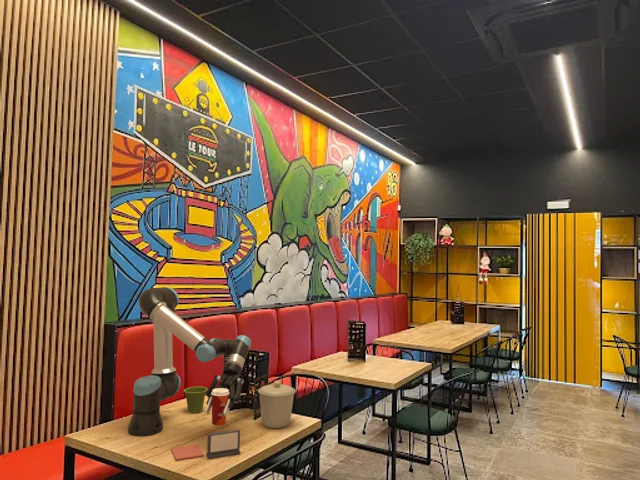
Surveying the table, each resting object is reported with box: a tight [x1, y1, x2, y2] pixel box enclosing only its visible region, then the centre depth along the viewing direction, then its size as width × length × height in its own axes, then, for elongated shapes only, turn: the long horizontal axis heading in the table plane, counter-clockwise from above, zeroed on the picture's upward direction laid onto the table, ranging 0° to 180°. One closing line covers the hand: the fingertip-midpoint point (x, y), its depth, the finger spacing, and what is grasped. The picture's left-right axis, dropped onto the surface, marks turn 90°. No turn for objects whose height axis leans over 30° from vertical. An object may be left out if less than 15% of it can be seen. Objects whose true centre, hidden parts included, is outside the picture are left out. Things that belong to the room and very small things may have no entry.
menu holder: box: [205, 429, 241, 460], centre depth 189 cm, size 4×13×9 cm, turn 116°
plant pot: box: [183, 386, 208, 414], centre depth 243 cm, size 12×12×11 cm
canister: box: [257, 380, 296, 429], centre depth 226 cm, size 18×18×21 cm
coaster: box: [170, 443, 205, 462], centre depth 190 cm, size 12×11×1 cm
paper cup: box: [211, 387, 230, 427], centre depth 199 cm, size 8×8×14 cm
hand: (215, 413), depth 196 cm, fingers closed on paper cup, 8 cm apart
